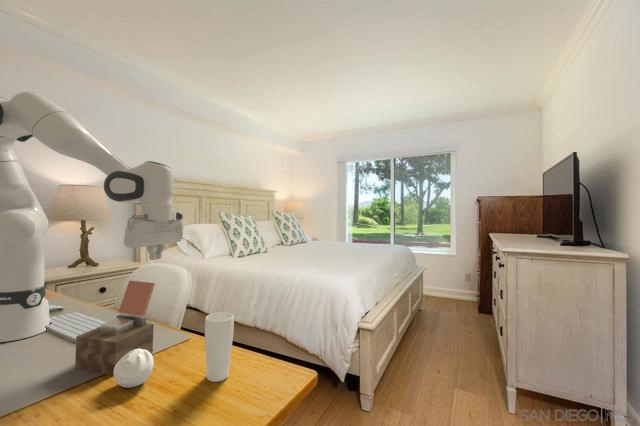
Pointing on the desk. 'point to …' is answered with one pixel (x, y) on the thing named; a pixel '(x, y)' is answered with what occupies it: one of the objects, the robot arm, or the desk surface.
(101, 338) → the block
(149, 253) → the robot arm
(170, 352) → the desk surface
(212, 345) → the drinking glass
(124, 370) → the white ridged ball
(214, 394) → the desk surface
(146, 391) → the desk surface
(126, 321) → the steel peg
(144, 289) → the panel
